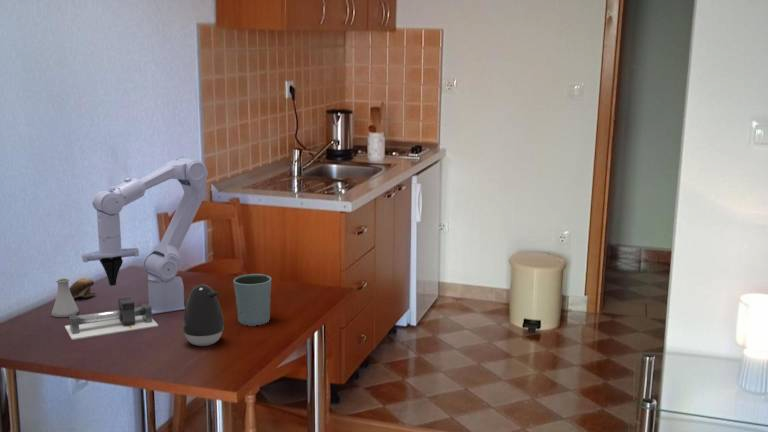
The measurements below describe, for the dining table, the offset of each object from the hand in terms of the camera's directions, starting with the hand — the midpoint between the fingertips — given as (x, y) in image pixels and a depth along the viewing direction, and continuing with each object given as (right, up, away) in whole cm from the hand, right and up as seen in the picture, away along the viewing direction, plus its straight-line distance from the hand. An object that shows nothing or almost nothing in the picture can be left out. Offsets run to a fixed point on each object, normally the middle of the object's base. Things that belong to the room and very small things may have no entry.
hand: (112, 284), depth 226 cm
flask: (-15, -9, +6) cm, 19 cm away
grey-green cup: (+38, -10, +2) cm, 39 cm away
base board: (+1, -11, -4) cm, 12 cm away
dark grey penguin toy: (+28, -14, -15) cm, 35 cm away
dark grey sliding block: (+5, -11, -2) cm, 12 cm away
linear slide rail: (+1, -11, -4) cm, 12 cm away
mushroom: (-16, -6, +21) cm, 27 cm away
